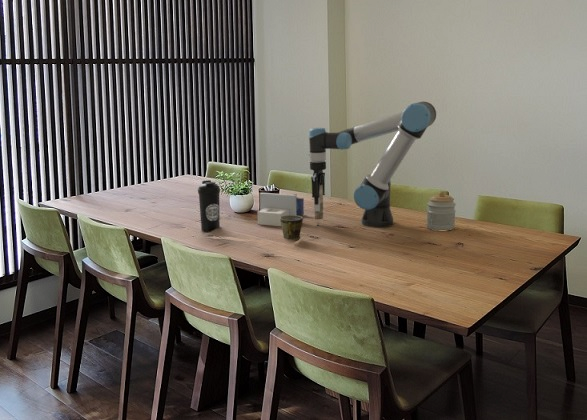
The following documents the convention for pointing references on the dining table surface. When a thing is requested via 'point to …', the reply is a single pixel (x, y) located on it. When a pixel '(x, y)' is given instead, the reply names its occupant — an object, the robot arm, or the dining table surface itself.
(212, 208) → the water bottle
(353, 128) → the robot arm
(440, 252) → the dining table surface
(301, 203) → the flask
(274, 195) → the backstop wall
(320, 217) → the dowel
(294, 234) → the ceramic cup
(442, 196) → the jar
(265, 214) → the sliding block
